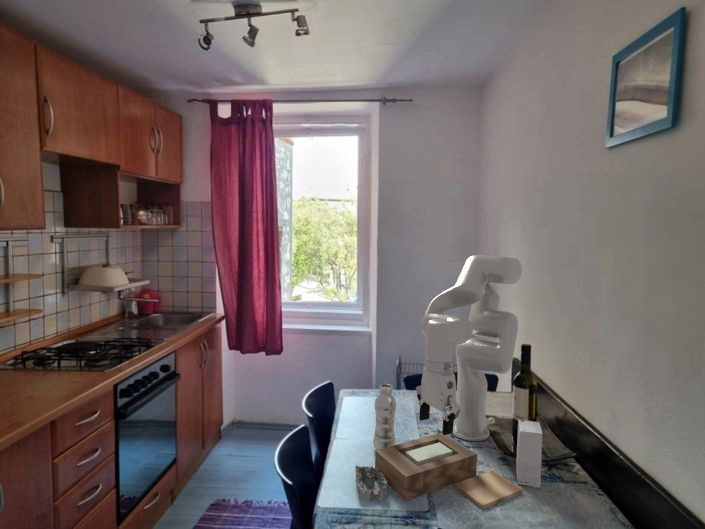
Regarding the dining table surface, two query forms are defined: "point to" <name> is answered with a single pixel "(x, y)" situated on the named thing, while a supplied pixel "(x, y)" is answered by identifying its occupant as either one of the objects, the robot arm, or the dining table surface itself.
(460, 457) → the pocket board
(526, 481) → the skincare box
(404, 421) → the dining table surface
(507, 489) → the plate
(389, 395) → the plastic bottle
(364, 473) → the egg carton
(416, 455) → the slab
